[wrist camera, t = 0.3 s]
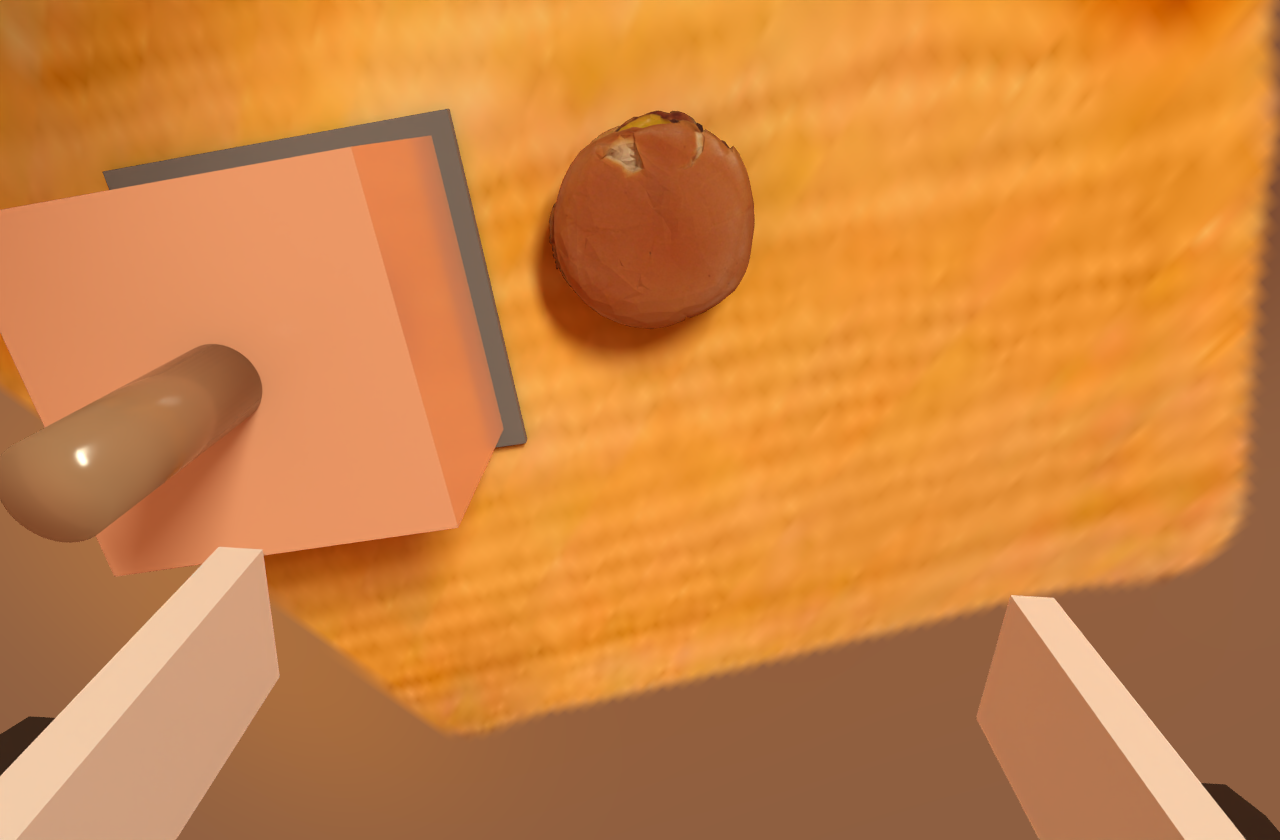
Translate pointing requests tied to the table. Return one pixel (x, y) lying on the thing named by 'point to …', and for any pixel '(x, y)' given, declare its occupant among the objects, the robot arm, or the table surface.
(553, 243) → the burger
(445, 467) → the pink box with peg
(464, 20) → the table surface
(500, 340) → the mat
